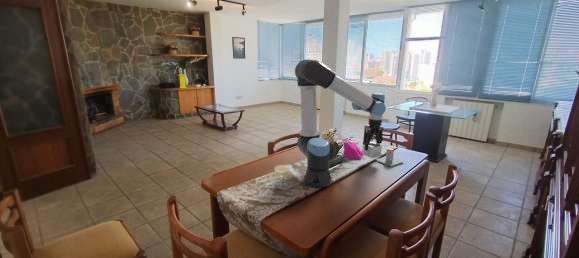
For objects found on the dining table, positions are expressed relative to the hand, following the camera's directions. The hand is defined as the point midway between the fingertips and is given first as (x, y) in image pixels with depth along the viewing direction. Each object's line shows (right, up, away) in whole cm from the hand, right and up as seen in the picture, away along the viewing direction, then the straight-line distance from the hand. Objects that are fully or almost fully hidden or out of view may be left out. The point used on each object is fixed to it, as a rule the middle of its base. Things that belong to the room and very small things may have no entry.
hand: (371, 153), depth 169 cm
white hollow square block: (0, -1, 0) cm, 1 cm away
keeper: (+13, -6, +5) cm, 15 cm away
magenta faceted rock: (-8, -3, +16) cm, 18 cm away
